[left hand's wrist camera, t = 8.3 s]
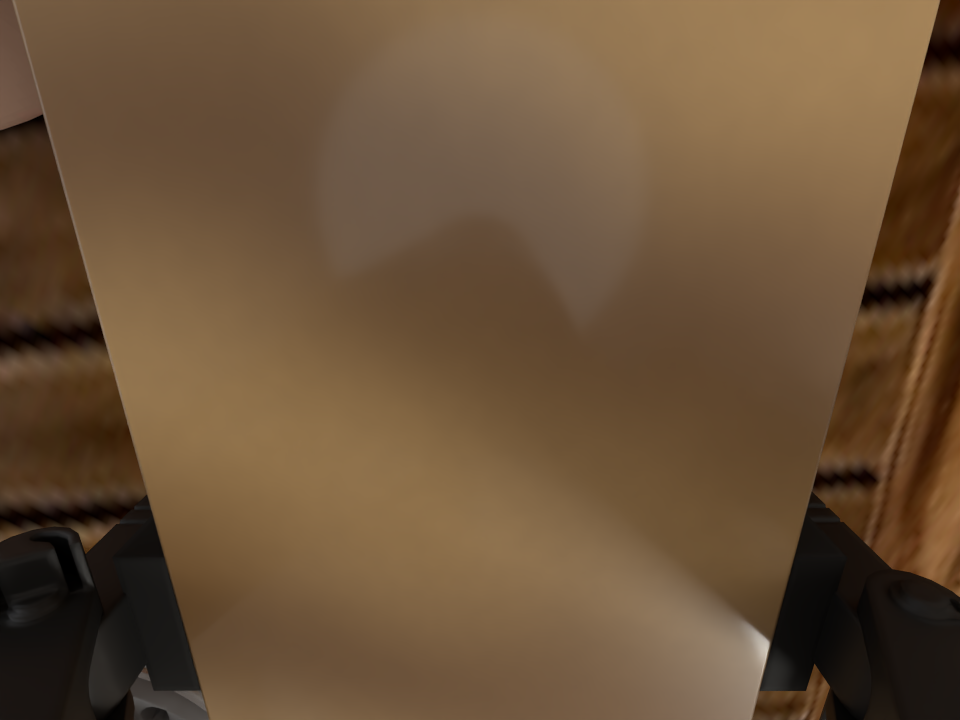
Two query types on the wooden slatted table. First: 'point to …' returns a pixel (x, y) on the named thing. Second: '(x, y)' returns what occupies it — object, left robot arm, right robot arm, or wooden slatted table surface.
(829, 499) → the wooden slatted table surface
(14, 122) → the anatomical model
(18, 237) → the wooden slatted table surface
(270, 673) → the long beam
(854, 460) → the wooden slatted table surface
